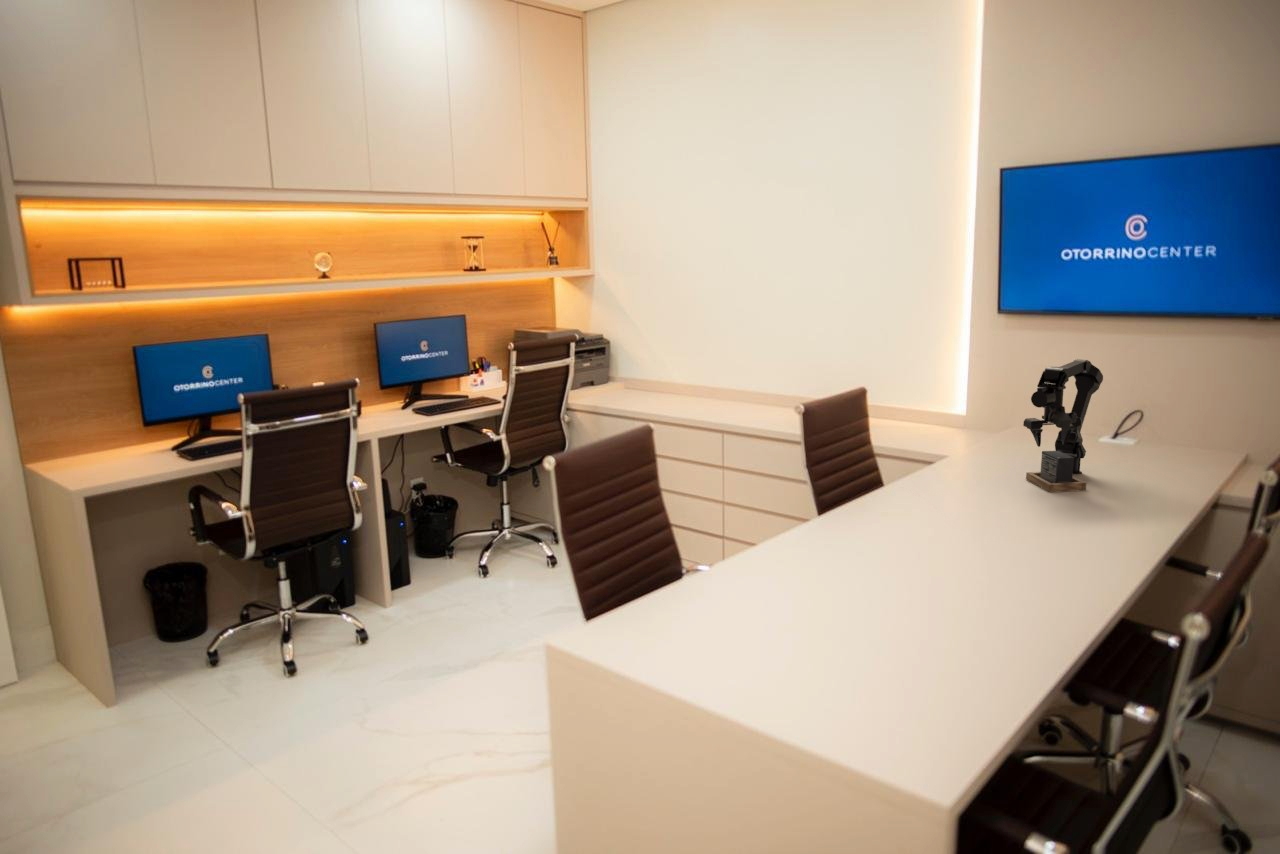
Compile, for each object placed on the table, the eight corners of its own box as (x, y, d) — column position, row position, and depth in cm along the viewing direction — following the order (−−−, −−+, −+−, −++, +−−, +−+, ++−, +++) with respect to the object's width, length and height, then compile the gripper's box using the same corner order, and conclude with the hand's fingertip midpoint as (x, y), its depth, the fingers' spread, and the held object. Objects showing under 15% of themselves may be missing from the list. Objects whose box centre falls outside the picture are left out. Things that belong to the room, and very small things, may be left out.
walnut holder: (1060, 477, 309) (1061, 470, 309) (1085, 490, 294) (1086, 482, 293) (1025, 479, 309) (1026, 472, 308) (1049, 492, 293) (1049, 484, 293)
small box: (1073, 486, 297) (1075, 457, 294) (1055, 487, 296) (1057, 458, 294) (1056, 477, 307) (1058, 449, 305) (1039, 479, 306) (1040, 450, 304)
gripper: (1040, 409, 292) (1038, 453, 296) (1092, 405, 294) (1089, 449, 297) (1023, 402, 303) (1021, 445, 307) (1073, 399, 304) (1071, 441, 308)
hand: (1051, 445), depth 304 cm, fingers open, 9 cm apart
